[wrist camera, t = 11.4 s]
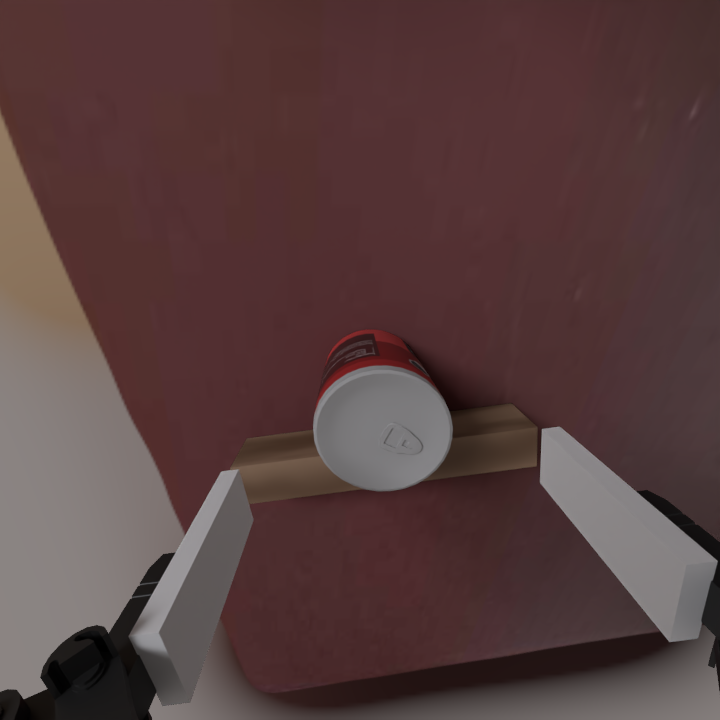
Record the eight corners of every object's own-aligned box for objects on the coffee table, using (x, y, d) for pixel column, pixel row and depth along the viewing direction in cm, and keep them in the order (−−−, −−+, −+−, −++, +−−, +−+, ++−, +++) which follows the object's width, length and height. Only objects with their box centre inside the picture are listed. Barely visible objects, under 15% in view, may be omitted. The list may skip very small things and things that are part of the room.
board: (246, 438, 31) (230, 467, 27) (511, 403, 31) (537, 427, 27) (255, 471, 32) (240, 505, 28) (511, 437, 32) (536, 466, 28)
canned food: (406, 418, 31) (435, 501, 21) (318, 403, 30) (302, 482, 20) (427, 336, 29) (471, 383, 18) (333, 319, 28) (323, 357, 18)
